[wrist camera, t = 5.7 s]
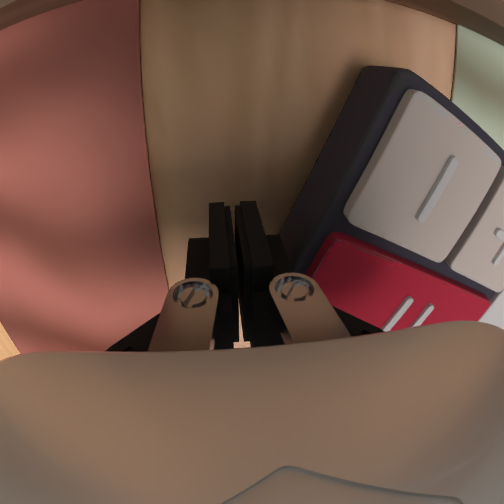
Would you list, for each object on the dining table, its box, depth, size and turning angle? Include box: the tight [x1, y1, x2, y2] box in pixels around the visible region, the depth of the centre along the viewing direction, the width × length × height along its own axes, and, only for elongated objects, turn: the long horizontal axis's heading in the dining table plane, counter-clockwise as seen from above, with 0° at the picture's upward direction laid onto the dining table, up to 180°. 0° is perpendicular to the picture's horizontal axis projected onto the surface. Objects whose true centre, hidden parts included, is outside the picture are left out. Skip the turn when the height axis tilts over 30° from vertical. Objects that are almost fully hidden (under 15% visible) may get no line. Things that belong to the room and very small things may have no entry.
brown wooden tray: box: [0, 0, 504, 354], centre depth 12 cm, size 21×36×3 cm, turn 90°
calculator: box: [279, 66, 504, 332], centre depth 13 cm, size 11×4×15 cm
